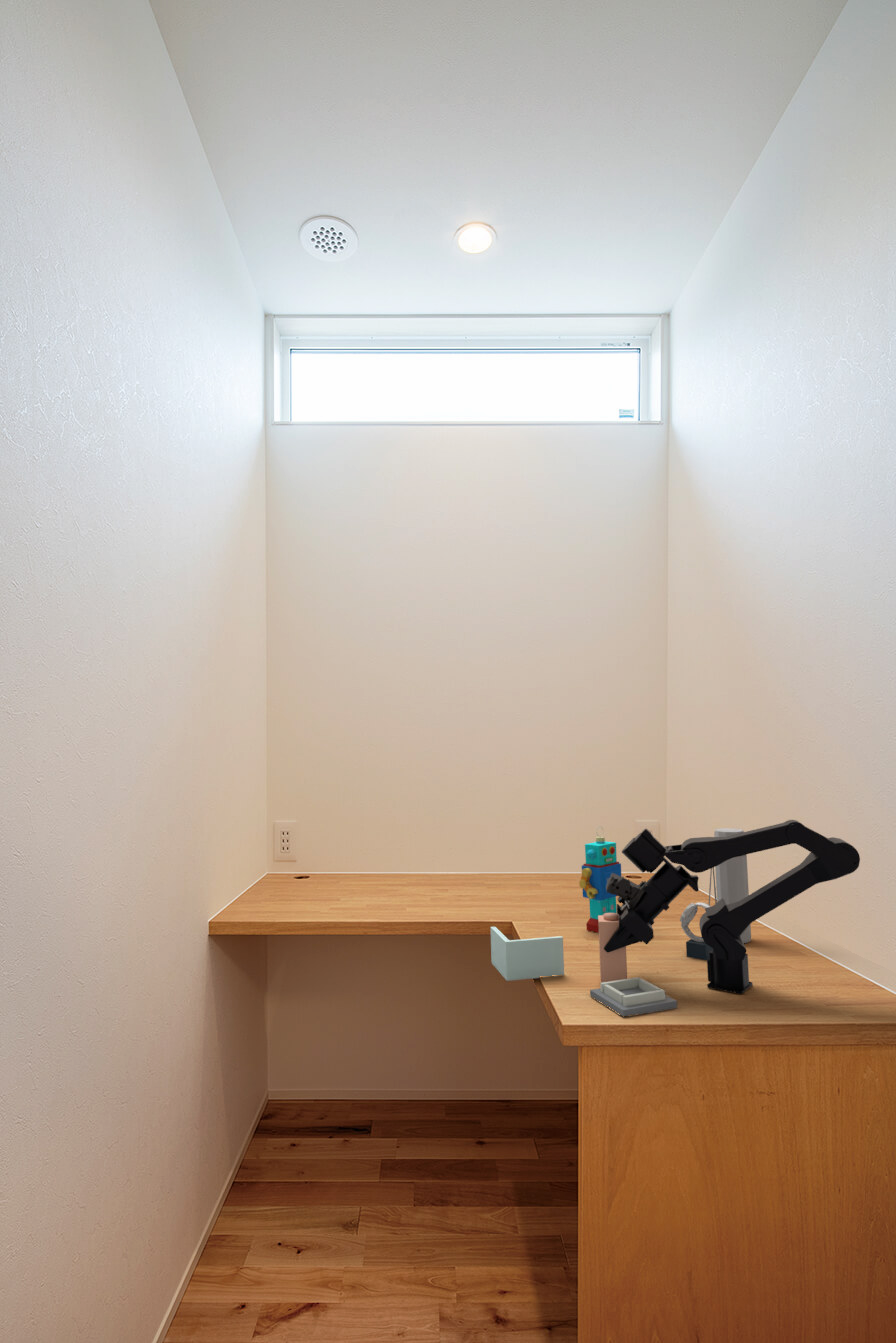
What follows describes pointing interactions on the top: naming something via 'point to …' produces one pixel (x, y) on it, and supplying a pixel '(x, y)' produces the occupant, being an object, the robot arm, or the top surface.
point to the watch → (695, 944)
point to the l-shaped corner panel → (526, 956)
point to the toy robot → (599, 879)
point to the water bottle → (731, 879)
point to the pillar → (614, 961)
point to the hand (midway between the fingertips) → (605, 946)
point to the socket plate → (633, 996)
